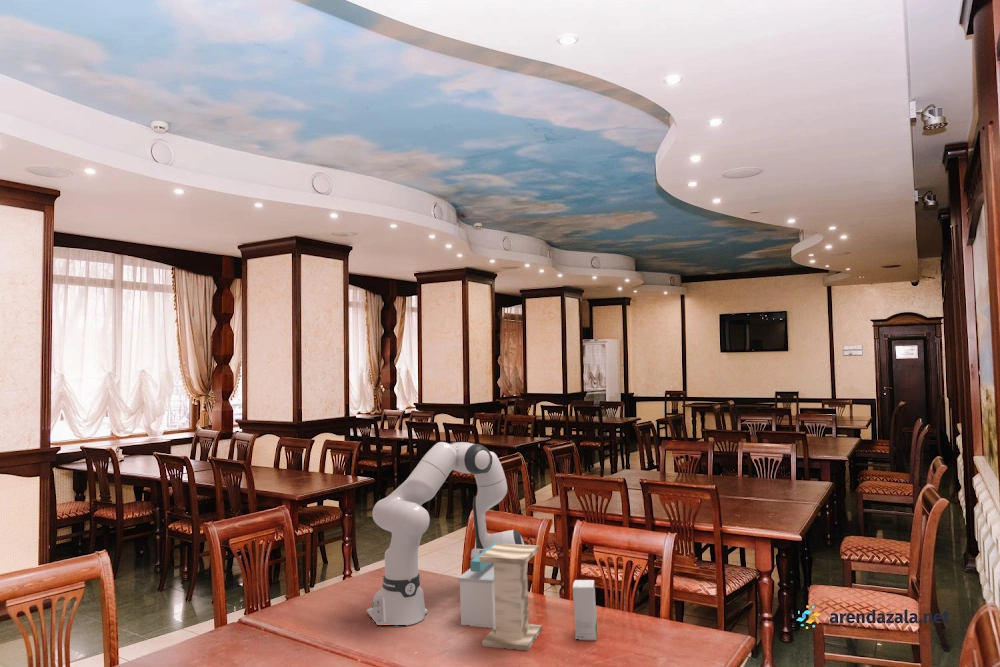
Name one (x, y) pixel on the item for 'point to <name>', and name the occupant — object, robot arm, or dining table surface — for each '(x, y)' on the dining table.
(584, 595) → the skincare box
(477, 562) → the teal bar
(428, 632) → the dining table surface
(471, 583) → the grey storage box
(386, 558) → the robot arm
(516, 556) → the birch pedestal
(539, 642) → the dining table surface
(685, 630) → the dining table surface
